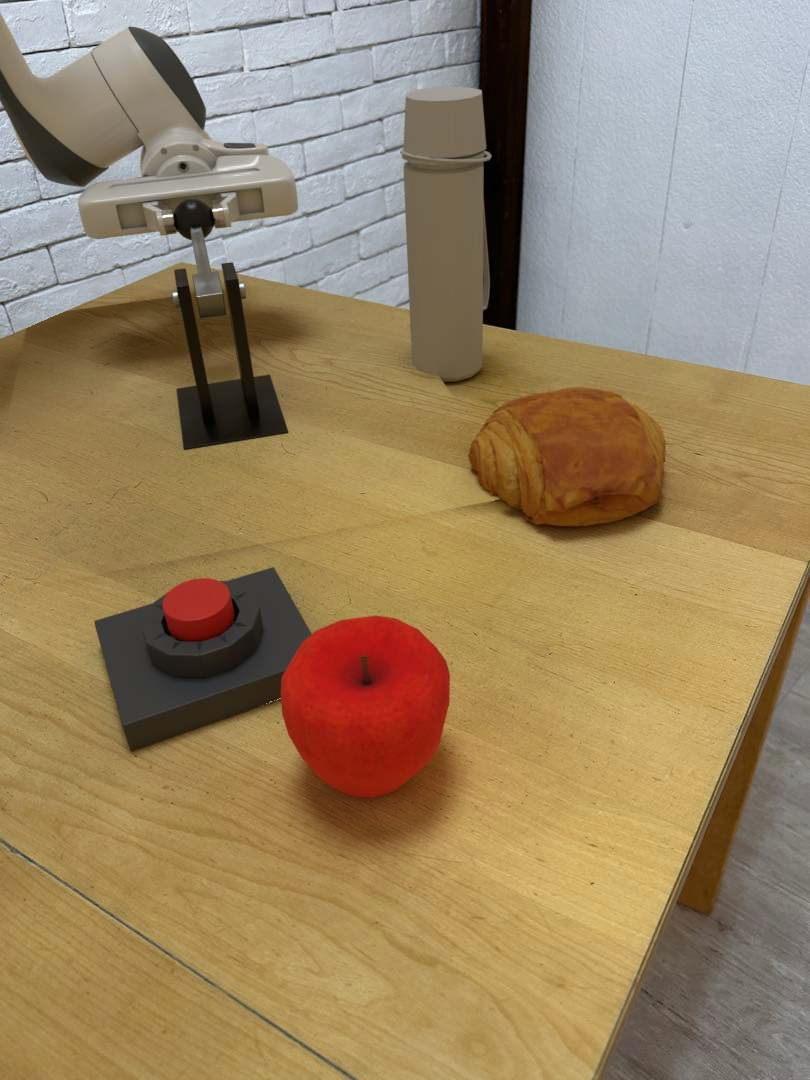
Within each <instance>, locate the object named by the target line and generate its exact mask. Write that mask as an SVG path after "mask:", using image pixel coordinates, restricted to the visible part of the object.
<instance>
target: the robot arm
mask: <svg viewBox="0 0 810 1080" xmlns="http://www.w3.org/2000/svg"><path fill="white" fill-rule="evenodd" d="M27 62H28V61H27V60H26V58H25V56H24V55H23V53H22V51H21V48H20V47H19V45H18V43H17V41H16V39H15V38H14V36H13V34H12V32H11V30H10V28H9V26H8V25H7V22H6V20H5V19H4V17H3V14H2V13H1V12H0V104H1V105H2V107H3V109H4V111H5V113H6V115H7V116H8V118H9V119H8V120H9V121H10V122H11V126H12V128H13V131H14V134H15V137H16V138H17V140H18V143H19V145H20V147H21V149H22V151H23V153H24V154H25V156H26V157H27V159H28V160H29V162H30V163H31V165H32V166H33V167H34V168H35V170H37V171H38V172H39V173H40V174H41V175H42V176H43V177H44V179H46V180H47V181H50V182H52V183H56V184H61V185H64V186H70V187H76V188H77V187H79V188H85V187H86V188H85V189H84V190H83V191H82V192H81V194H80V196H79V197H78V199H77V207H78V211H79V216H80V220H81V224H82V227H83V231H84V234H85V236H86V237H87V238H90V239H94V240H103V239H110V238H118V237H119V238H120V237H126V236H134V235H142V234H150V233H157V232H159V236H160V237H161V236H170V235H175V234H178V233H179V232H178V231H177V229H176V227H175V225H174V217H173V215H174V211H175V208H176V207H177V205H178V204H179V203H180V202H181V201H183V200H185V199H189V198H196V199H199V200H202V201H203V202H205V203H206V204H207V205H208V206H209V207H210V209H211V210H212V213H213V217H214V229H215V230H216V229H225V228H231V227H232V223H237V222H245V221H252V220H253V221H254V220H260V219H261V220H262V219H267V218H269V219H270V218H277V217H287V216H292V215H293V214H296V213H297V212H298V210H299V201H298V192H297V185H296V179H295V175H294V173H293V172H292V170H291V169H290V168H289V166H288V165H287V164H286V163H285V162H284V161H283V160H282V159H280V158H278V157H276V156H274V155H270V153H269V149H268V146H267V145H266V144H264V143H260V142H259V143H254V142H253V143H252V142H222V141H217V140H213V138H212V136H210V134H209V133H208V132H207V131H206V130H205V128H206V127H205V126H206V120H207V108H206V105H205V103H204V100H203V98H202V96H201V94H200V92H199V90H198V88H197V86H196V84H195V82H194V80H193V78H192V76H191V75H190V73H189V71H188V70H187V68H186V67H185V65H184V64H183V62H182V61H181V59H180V58H179V56H178V55H177V53H175V51H174V50H173V49H172V48H171V46H170V45H169V44H168V43H167V42H166V40H164V39H163V38H162V37H161V36H158V35H157V34H155V33H153V32H151V31H148V30H146V29H144V28H140V27H138V26H128V27H127V28H124V29H123V30H121V31H119V32H118V33H116V34H114V35H112V36H111V37H109V38H107V39H106V40H104V41H103V42H101V43H100V44H98V45H96V46H95V47H93V48H91V51H89V52H87V53H85V54H84V55H82V56H81V57H79V58H78V59H75V61H73V62H71V63H69V64H68V65H66V66H65V67H63V68H61V69H60V70H58V71H57V72H55V73H54V74H52V75H49V76H47V77H39V76H37V75H35V74H34V73H33V72H32V70H31V68H30V66H29V64H28V63H27ZM139 149H141V151H140V156H139V157H140V159H139V168H140V169H139V170H140V176H139V177H133V178H124V179H115V180H107V181H100V182H95V183H93V184H91V183H92V182H93V181H94V180H95V179H96V178H98V177H99V176H101V175H102V174H103V173H104V172H106V171H107V170H108V169H110V167H111V166H112V165H114V164H115V163H117V162H119V161H120V160H122V159H123V158H125V157H127V156H129V155H130V154H132V153H133V152H135V151H137V150H139ZM89 184H91V185H89ZM87 185H88V186H87Z"/></svg>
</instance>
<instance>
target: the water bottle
mask: <svg viewBox="0 0 810 1080" xmlns="http://www.w3.org/2000/svg"><path fill="white" fill-rule="evenodd" d="M483 101H484V100H483V91H482V89H479V88H475V87H470V86H457V85H456V86H455V85H453V86H434V87H433V86H432V87H427V88H419V89H415V90H412V91H409V92H407V93H406V94H405V102H404V103H405V107H404V125H403V127H404V128H403V147H402V149H400V151H399V153H400V154H401V160H404V161H406V162H404V164H403V189H404V211H405V213H404V214H405V232H406V233H405V234H406V255H407V279H408V280H407V281H408V301H409V323H410V324H409V325H410V326H409V327H410V349H411V365H412V366H413V367H415V368H416V369H417V370H418V371H419V372H422V373H426V374H430V375H434V376H438V377H439V378H440V380H441V381H442V382H444V383H455V382H459V381H462V380H467V379H470V378H472V377H474V376H475V375H476V374H477V373H478V372H480V371H481V369H482V368H483V364H484V363H483V360H484V359H483V357H484V356H483V350H484V349H483V347H484V346H483V345H484V342H483V340H484V338H483V337H484V334H483V333H484V332H483V331H484V311H485V310H486V309H488V306H489V300H490V290H491V289H490V288H491V278H490V276H491V275H490V263H489V249H488V240H487V239H488V237H487V226H486V212H485V200H484V199H485V198H484V167H485V166H484V162H488V161H490V160H491V158H492V154H491V153H490V151H486V150H487V140H486V125H485V114H484V103H483Z"/></svg>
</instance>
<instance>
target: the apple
mask: <svg viewBox="0 0 810 1080" xmlns="http://www.w3.org/2000/svg"><path fill="white" fill-rule="evenodd" d="M450 674H451V673H450V670H449V665H448V662H447V659H445V657H444V655H443V654H442V652H441V651H440V650H439V649H438V647H437V646H436V645H435V644H434V643H433V642H432V641H431V640H430V639H429V638H428V637H427V636H426V635H425V634H424V633H423V632H422V631H421V630H420V629H418V628H417V627H415V626H412V625H411V624H408V623H406V622H404V621H402V620H401V619H398V618H395V617H390V616H382V615H369V616H368V615H367V616H361V617H354V618H346V619H340V620H337V621H335V622H333V623H331V624H328V625H326V626H323V627H321V628H319V629H316V630H314V631H313V632H312V634H311V635H310V636H309V637H308V638H307V639H306V640H305V641H304V642H303V643H302V644H301V645H300V647H299V649H298V650H297V652H296V654H295V655H294V657H293V659H292V660H291V662H290V664H289V666H288V667H287V669H286V671H285V672H284V674H283V676H282V679H281V700H280V703H281V705H280V706H281V714H282V718H283V721H284V725H285V727H286V732H287V735H288V737H289V738H290V741H291V743H293V745H294V747H295V749H296V751H297V752H298V754H299V756H300V757H301V758H302V759H303V761H304V762H305V763H306V765H307V766H308V767H309V768H310V769H311V770H312V771H313V773H315V775H316V776H317V777H318V778H319V779H320V780H321V781H322V782H323V783H325V784H326V785H328V786H329V787H331V788H333V789H335V790H337V791H338V792H340V793H342V794H344V795H347V796H348V797H355V798H368V799H375V798H378V797H380V796H384V795H387V794H389V793H392V792H395V791H397V790H399V788H401V787H402V786H403V785H404V784H405V783H407V782H408V781H409V780H410V779H411V778H413V777H414V776H415V775H416V774H417V773H419V772H420V771H421V770H423V768H425V766H426V765H427V764H428V763H429V762H430V761H431V759H432V758H433V757H434V755H435V753H436V751H437V750H438V747H439V746H440V743H441V739H442V734H443V730H444V727H445V723H446V719H447V715H448V711H449V706H450V698H451V697H450V694H451V693H450V692H451V675H450Z"/></svg>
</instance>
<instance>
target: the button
mask: <svg viewBox="0 0 810 1080" xmlns="http://www.w3.org/2000/svg"><path fill="white" fill-rule="evenodd" d="M220 581H221V580H218V579H215V578H207V577H200V578H193V579H190V580H185V581H184V582H183V581H182V582H181V583H179V584H176V585H175V586H174V587H172V588H171V589H170V590H168V592H166V593H167V595H166V596H165V598H164V600H163V604H162V605H163V611H164V615H165V618H166V622H167V626H168V630H169V632H170V633H171V634H172V635H173V636H174V637H175V638H177V639H179V640H181V641H185V642H201V641H204V640H208V639H211V638H214V637H217V636H220V635H221V634H223V633H224V632H225V631H226V630H228V629H229V627H230V626H231V625H232V623H233V620H234V609H233V604H232V599H231V594H230V591H229V589H228V587H227V586H226V585H225V584H224V583H222V582H220Z"/></svg>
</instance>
